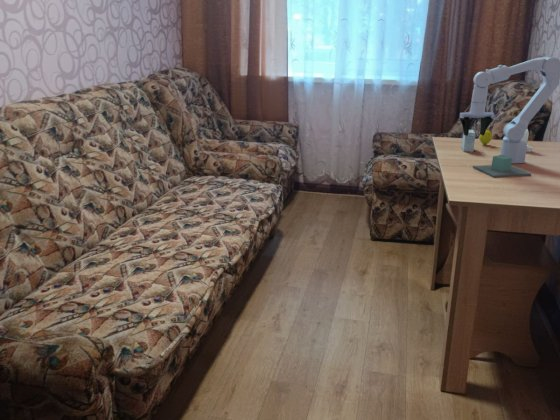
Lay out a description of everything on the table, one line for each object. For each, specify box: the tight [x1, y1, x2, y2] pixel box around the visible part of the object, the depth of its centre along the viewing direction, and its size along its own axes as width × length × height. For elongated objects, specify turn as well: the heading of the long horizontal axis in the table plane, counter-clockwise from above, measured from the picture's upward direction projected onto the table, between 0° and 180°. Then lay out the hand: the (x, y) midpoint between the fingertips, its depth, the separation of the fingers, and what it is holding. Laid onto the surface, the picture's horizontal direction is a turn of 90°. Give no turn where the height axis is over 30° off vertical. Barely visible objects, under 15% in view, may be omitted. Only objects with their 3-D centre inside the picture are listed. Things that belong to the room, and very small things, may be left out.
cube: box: [491, 154, 513, 172], centre depth 209 cm, size 5×5×5 cm
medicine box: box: [461, 129, 477, 153], centre depth 242 cm, size 8×4×9 cm, turn 168°
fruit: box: [478, 128, 493, 146], centre depth 253 cm, size 6×6×8 cm
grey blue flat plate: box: [472, 164, 532, 178], centre depth 209 cm, size 16×14×1 cm
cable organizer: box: [521, 128, 533, 153], centre depth 244 cm, size 5×10×10 cm, turn 90°
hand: (473, 134), depth 224 cm, fingers open, 7 cm apart
